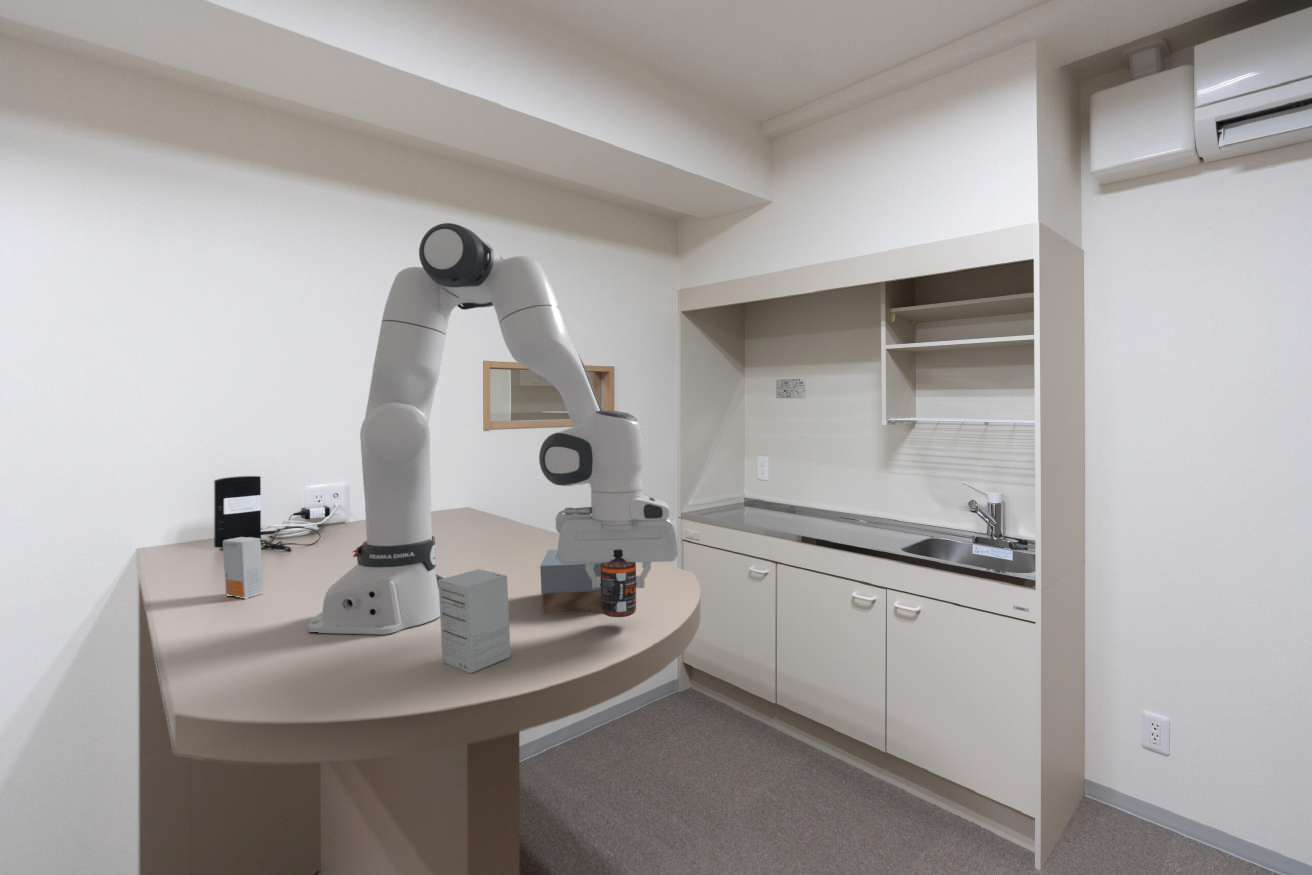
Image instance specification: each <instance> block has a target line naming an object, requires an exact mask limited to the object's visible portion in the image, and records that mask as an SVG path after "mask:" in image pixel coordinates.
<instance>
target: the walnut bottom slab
mask: <svg viewBox="0 0 1312 875" xmlns="http://www.w3.org/2000/svg"><path fill="white" fill-rule="evenodd" d="M542 607H543V614H558V613H559V614H561V613H579V612H580V613H584V612H585V613H586V612H600V611H601V612H602V610H601V591H596V592H573V593H551V594H542Z"/></svg>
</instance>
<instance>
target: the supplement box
mask: <svg viewBox="0 0 1312 875" xmlns="http://www.w3.org/2000/svg"><path fill="white" fill-rule="evenodd" d="M437 582H438V588H439V601H440V617H439V619H440V635H441V637H440V638H441V640H440V641H441V654H442V655H441V656H442V657H441V658H442V660H441V661H442V662H443V663H445V664H446V665H449V666H452V667H454V668H456V669H458V670H461V671H463V672H465V673H468V674H474V673H475V672H477V671H480V670H483V669H484V668H486V667H490V666H492V665H495V664H497V663H499V662H502V661H504V660H507V659H509V658H511V655H512V654H511V653H512V652H511V637H510V636H511V633H510V615H509V610H510V609H509V592H508V591H509V590H508V576H507V575H505V574H501V573H498V572H497V573H496V572H493V571H489V570H484V569H479V568H477V569H474V570H471V571H467V572H463V573H459V574H456V575H452V576H447V577H444V578H439V579H438V580H437Z"/></svg>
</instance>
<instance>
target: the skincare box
mask: <svg viewBox="0 0 1312 875" xmlns="http://www.w3.org/2000/svg"><path fill="white" fill-rule="evenodd" d="M261 546H262V545H261V538H260V537H252V536H249V537H246V536H245V537H244V536H238V537H234V538H228V539H224V540H222V551H223V553H222V554H223V565H224V566H223V569H224V583H225V584H224V585H225V588H224V589H225V595H226V594H229V595H232V596H239V597H248V596H251V595H254V594H257V593H261V592H263V593H264V583H263V582H264V580H263V579H264V578H263V566H262V547H261Z"/></svg>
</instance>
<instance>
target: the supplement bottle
mask: <svg viewBox="0 0 1312 875" xmlns="http://www.w3.org/2000/svg"><path fill="white" fill-rule="evenodd" d="M622 556H623V550H621V549H616V550H614V555H613V557H615V559H614V560H612V561H610V562H607V563H601V610H602V611H601V613H602V614H603V615H604V616H607V617H610V618H625V617H630V616H631V615H633V614H635V613H636V610H637V588H636V576H637V564H636V563H637V562H626V561H625V560H624V559H623V558H621V557H622Z"/></svg>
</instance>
